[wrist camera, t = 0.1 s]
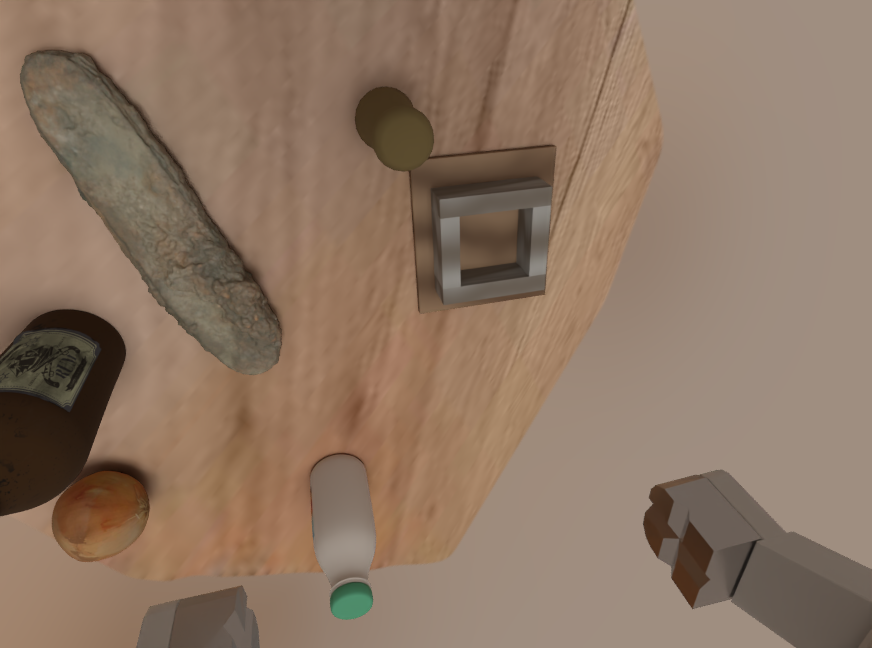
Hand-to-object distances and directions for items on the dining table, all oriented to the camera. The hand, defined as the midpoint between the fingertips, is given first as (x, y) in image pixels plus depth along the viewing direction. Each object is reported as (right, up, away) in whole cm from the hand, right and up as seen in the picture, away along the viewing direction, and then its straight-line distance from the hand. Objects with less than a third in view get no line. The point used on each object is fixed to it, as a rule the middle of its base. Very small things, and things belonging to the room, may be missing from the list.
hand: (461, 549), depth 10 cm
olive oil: (-39, +2, +45) cm, 60 cm away
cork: (-5, +25, +41) cm, 48 cm away
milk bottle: (-14, -16, +63) cm, 67 cm away
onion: (-41, -15, +55) cm, 70 cm away
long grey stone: (-27, +14, +42) cm, 52 cm away
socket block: (+5, +15, +50) cm, 52 cm away
